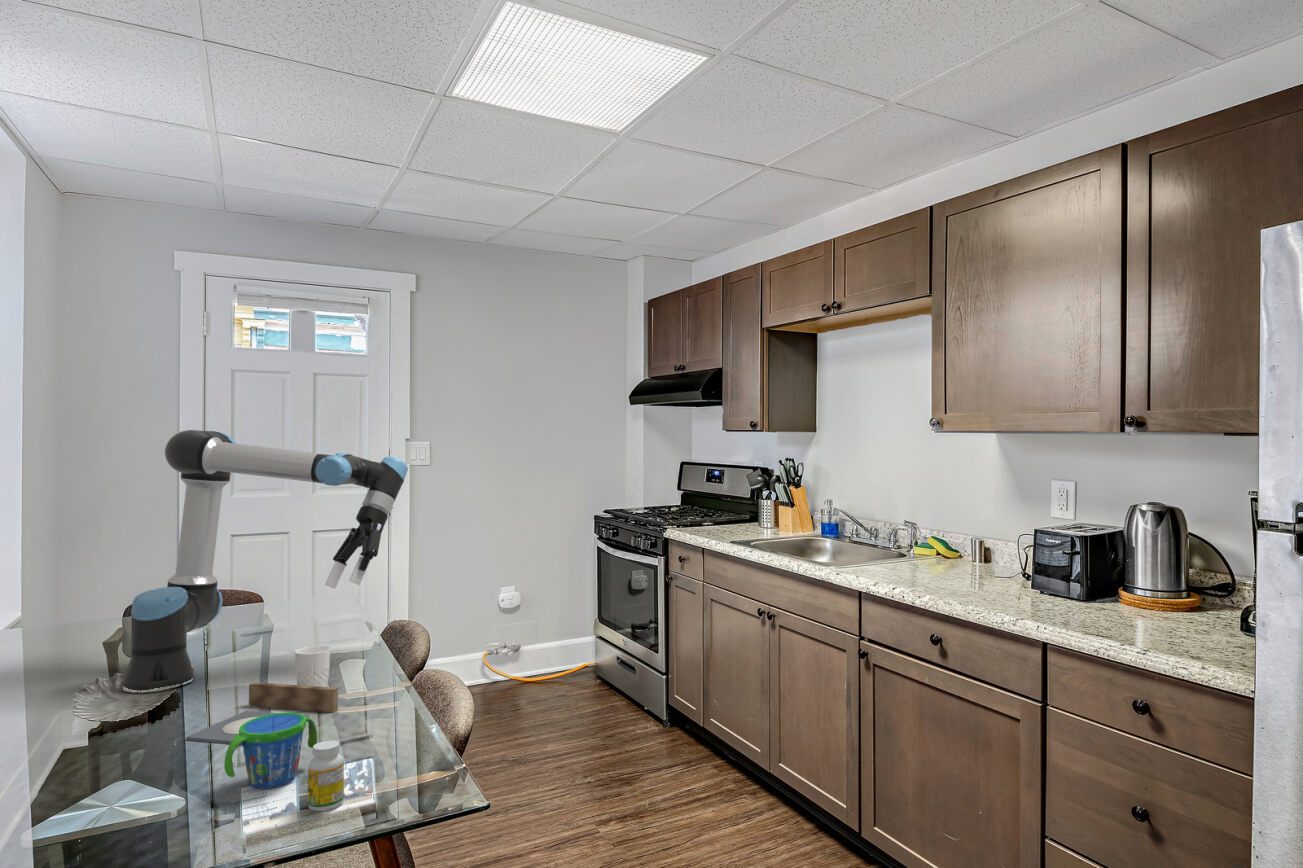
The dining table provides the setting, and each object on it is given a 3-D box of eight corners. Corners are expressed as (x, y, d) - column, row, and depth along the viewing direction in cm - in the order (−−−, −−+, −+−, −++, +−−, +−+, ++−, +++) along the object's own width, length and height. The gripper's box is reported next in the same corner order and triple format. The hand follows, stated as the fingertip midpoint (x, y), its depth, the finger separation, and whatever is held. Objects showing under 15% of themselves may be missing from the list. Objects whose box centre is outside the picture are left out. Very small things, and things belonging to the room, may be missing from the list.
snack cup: (237, 806, 120) (237, 742, 120) (212, 788, 127) (213, 727, 127) (330, 774, 132) (331, 716, 132) (303, 759, 139) (304, 704, 139)
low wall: (248, 706, 169) (249, 684, 169) (253, 704, 171) (253, 682, 171) (333, 712, 164) (333, 689, 165) (337, 710, 166) (337, 687, 166)
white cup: (316, 697, 175) (316, 654, 176) (287, 695, 177) (287, 653, 177) (337, 687, 183) (337, 646, 184) (308, 685, 185) (309, 645, 185)
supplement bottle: (344, 808, 119) (344, 747, 119) (307, 815, 117) (307, 753, 117) (343, 794, 124) (343, 736, 124) (308, 801, 122) (308, 741, 122)
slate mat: (186, 740, 149) (186, 736, 149) (246, 713, 164) (246, 709, 164) (254, 746, 145) (254, 742, 145) (308, 718, 161) (308, 714, 161)
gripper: (410, 510, 194) (378, 586, 184) (365, 522, 211) (333, 593, 200) (385, 497, 190) (351, 574, 179) (341, 511, 206) (307, 582, 196)
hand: (341, 584), depth 190 cm, fingers open, 13 cm apart
